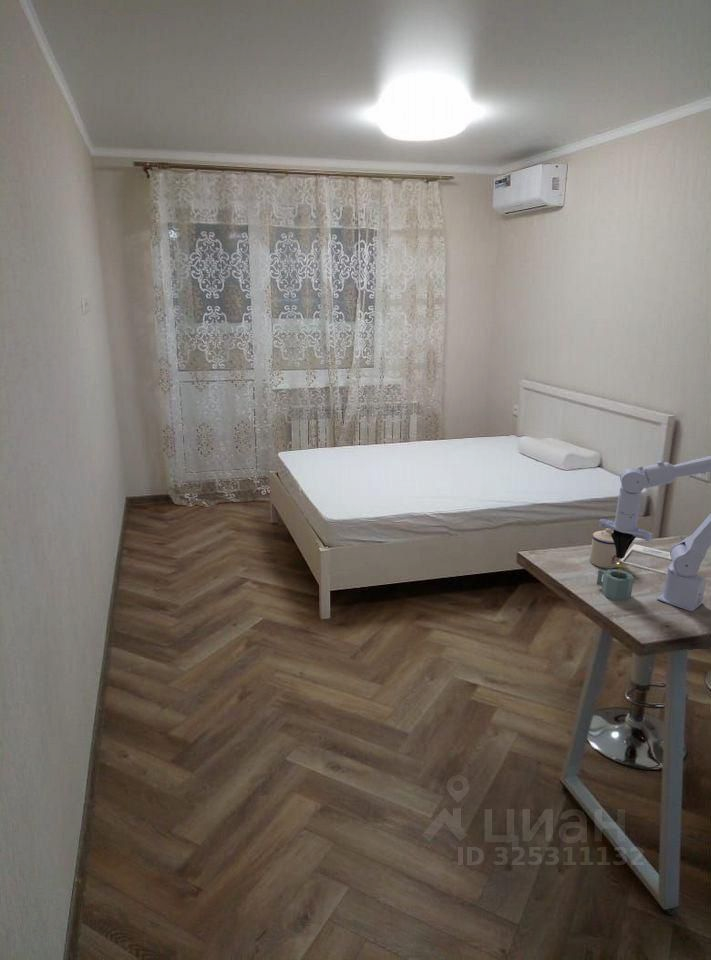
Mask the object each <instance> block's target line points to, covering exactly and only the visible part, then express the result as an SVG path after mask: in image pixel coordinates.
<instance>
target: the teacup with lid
mask: <svg viewBox="0 0 711 960" xmlns="http://www.w3.org/2000/svg"><path fill="white" fill-rule="evenodd" d="M613 532H614V530H611V529H608V528H605V529H604V530H598V531H594V532H593V533H592V536H591V537H592V540H591V541H592V542H591V548H590V556H589V562H590V563H591V564H592V565H593V564H594V565H593V566H595V565H596V566H595V567H599V568H603V569H617V567H616V566H615V564H616V562H617V561H620V560H621V559H620V558H617V554H616V547H615V544H614V541H613V538H612V537H611V534H612V533H613Z"/></svg>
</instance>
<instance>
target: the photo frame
mask: <svg viewBox="0 0 711 960" xmlns="http://www.w3.org/2000/svg"><path fill="white" fill-rule="evenodd" d="M632 552H636V553H639V554H644V555H648V556H651V557H655V558H659V559H660V558H661V559H665V560H669V561H672V559H671V556H670V551H667V550H666V551H664V550H661V549H657V548H653V547H649V546H648V547H647V546H645V545H639V544H635V543H634V544H633V545H632V546H631V548H630V547H629V549H628V550H627V552H626V554H625V557H624V558H622V559H620V560H619V561H621V562H624V563H626V565H627V566H631V567H635V568H639V569H642V570H647V571H651V572H654V573H659V574H662V575H666V576H667V571H663V570H659V569H656V568H655V569H654V568H650V567H646V566H643V565H640V564H636V563H631V562H627V561H625V560H626V559H627V557H628V556H629V555H630V554H631V553H632Z"/></svg>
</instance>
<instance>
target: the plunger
mask: <svg viewBox="0 0 711 960" xmlns="http://www.w3.org/2000/svg"><path fill="white" fill-rule="evenodd" d="M624 562H625V561H624ZM624 562H621V561H620V560H619V561H617V562H616V564H615V566H616V569H617V568H618V569H617V570H618V575H617V576H613V577H615V578H618V579H624V578H622V577H620V574H621V570H622V569H625V568H626V563H624Z"/></svg>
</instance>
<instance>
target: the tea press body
mask: <svg viewBox="0 0 711 960" xmlns="http://www.w3.org/2000/svg"><path fill="white" fill-rule="evenodd" d="M597 572H598V573H597V579H596V585H598V586H601V589H600V590H601V591H600V592H601V593H602V594H603V596H604V597H606V598H608V599H609V600H610V599H611V600H613V601H628V600H630V599H631V598H632V591H633V585H634V579H635V577H634V576H633V574H631V573H630V572H627V571H624V570H622V569H621V574H620V577H622V578H624V579H618V578H615V577H613V576H617V575H618V569H613V568H608V569H607V570H604V569H601V568H600V569H598V571H597Z"/></svg>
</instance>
